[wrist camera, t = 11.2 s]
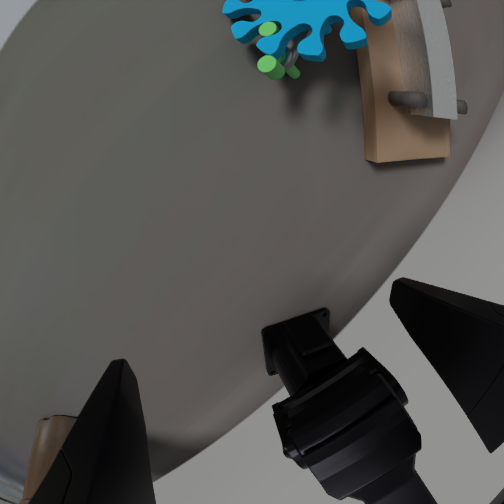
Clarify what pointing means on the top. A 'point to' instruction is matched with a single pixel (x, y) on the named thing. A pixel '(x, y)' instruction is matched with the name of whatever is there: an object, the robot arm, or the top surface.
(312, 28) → the gear
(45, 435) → the plant pot
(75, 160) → the top surface
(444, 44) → the ball knob lever
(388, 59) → the peg rack
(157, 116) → the top surface
